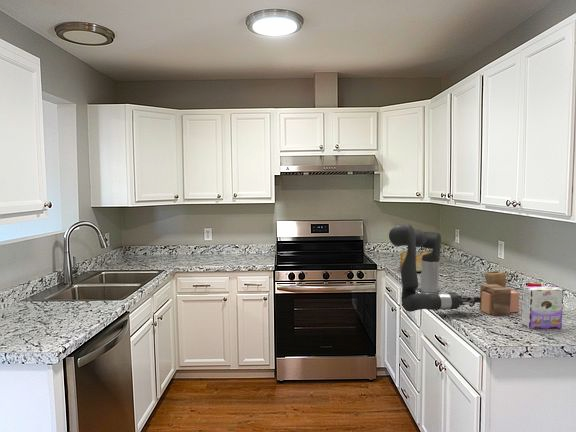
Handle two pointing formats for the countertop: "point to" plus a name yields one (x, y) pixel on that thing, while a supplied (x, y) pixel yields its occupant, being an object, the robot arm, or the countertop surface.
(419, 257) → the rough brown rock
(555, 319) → the candy box
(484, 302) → the block
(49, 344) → the countertop surface
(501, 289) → the tunnel
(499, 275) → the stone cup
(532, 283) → the beverage can
